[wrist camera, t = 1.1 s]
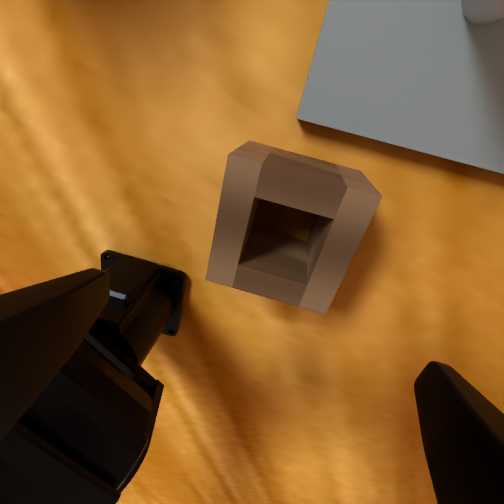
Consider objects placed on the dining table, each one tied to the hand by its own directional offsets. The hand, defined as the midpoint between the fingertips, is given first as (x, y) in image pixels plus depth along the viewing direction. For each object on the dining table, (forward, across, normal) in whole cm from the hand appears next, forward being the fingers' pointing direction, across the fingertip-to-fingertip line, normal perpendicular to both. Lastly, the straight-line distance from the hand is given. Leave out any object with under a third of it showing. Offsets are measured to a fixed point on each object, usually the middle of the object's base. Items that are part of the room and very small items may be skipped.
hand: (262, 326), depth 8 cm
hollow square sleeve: (+11, 0, 0) cm, 11 cm away
